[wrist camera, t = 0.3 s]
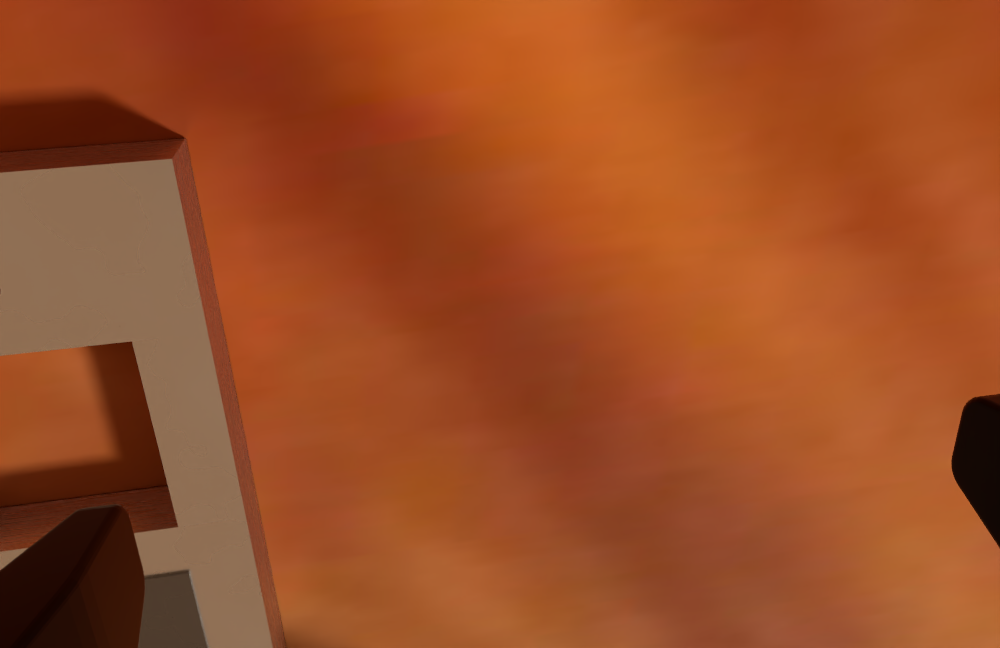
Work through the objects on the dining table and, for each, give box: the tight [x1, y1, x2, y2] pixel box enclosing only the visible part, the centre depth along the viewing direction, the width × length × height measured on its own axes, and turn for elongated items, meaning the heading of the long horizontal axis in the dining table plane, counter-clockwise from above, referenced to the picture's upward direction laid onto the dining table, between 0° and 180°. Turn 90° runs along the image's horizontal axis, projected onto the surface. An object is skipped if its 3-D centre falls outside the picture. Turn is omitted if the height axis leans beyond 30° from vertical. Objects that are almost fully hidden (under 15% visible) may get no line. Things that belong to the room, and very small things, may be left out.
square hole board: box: [0, 138, 286, 648], centre depth 24 cm, size 24×9×2 cm, turn 2°
